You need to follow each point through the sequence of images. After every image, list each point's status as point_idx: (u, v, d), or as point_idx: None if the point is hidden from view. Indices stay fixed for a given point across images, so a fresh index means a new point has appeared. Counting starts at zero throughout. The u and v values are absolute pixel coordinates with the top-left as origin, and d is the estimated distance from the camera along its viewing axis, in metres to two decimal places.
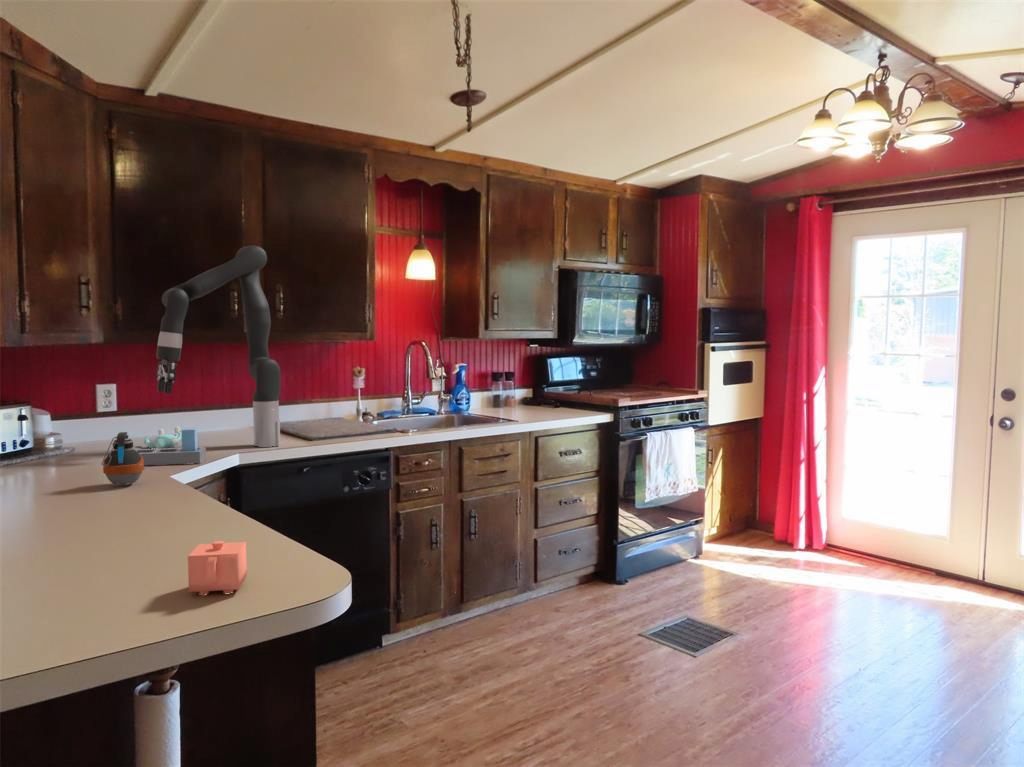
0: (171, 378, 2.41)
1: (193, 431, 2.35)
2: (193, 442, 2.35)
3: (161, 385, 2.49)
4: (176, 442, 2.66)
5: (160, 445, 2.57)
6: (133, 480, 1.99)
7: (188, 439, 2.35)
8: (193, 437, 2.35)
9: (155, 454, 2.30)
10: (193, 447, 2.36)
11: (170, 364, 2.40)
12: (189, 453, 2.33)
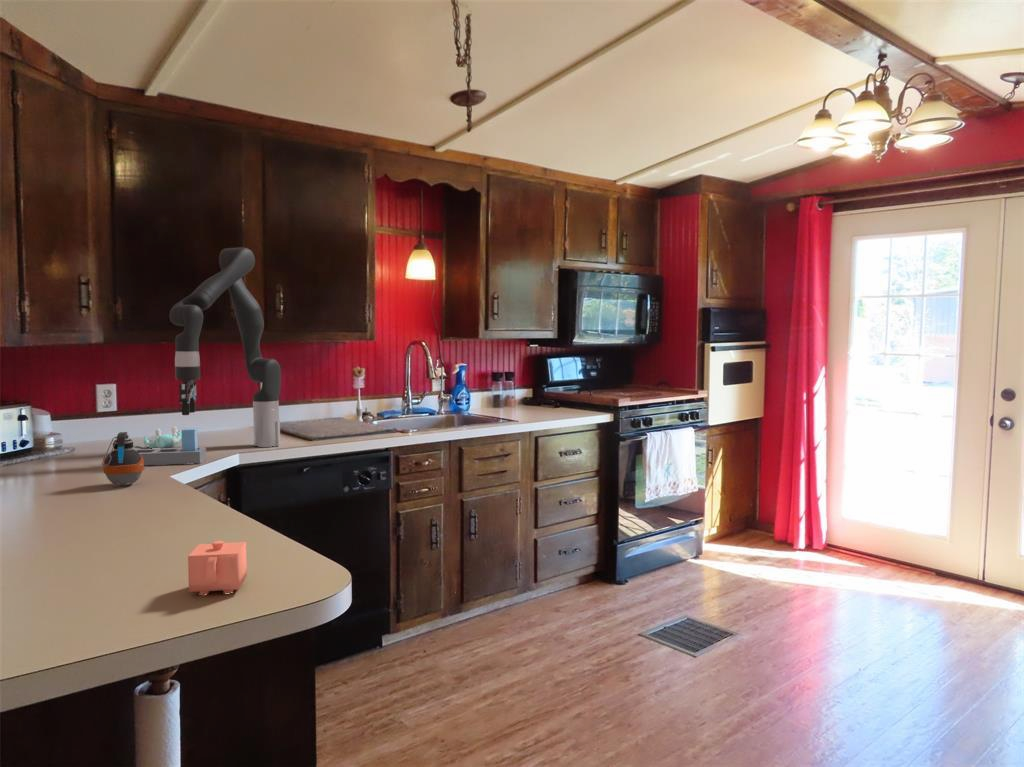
0: (183, 399, 2.29)
1: (193, 431, 2.35)
2: (193, 442, 2.35)
3: (190, 406, 2.40)
4: (176, 442, 2.66)
5: (162, 445, 2.57)
6: (133, 480, 1.99)
7: (188, 439, 2.35)
8: (193, 437, 2.35)
9: (155, 454, 2.30)
10: (193, 447, 2.36)
11: (180, 385, 2.29)
12: (189, 453, 2.33)
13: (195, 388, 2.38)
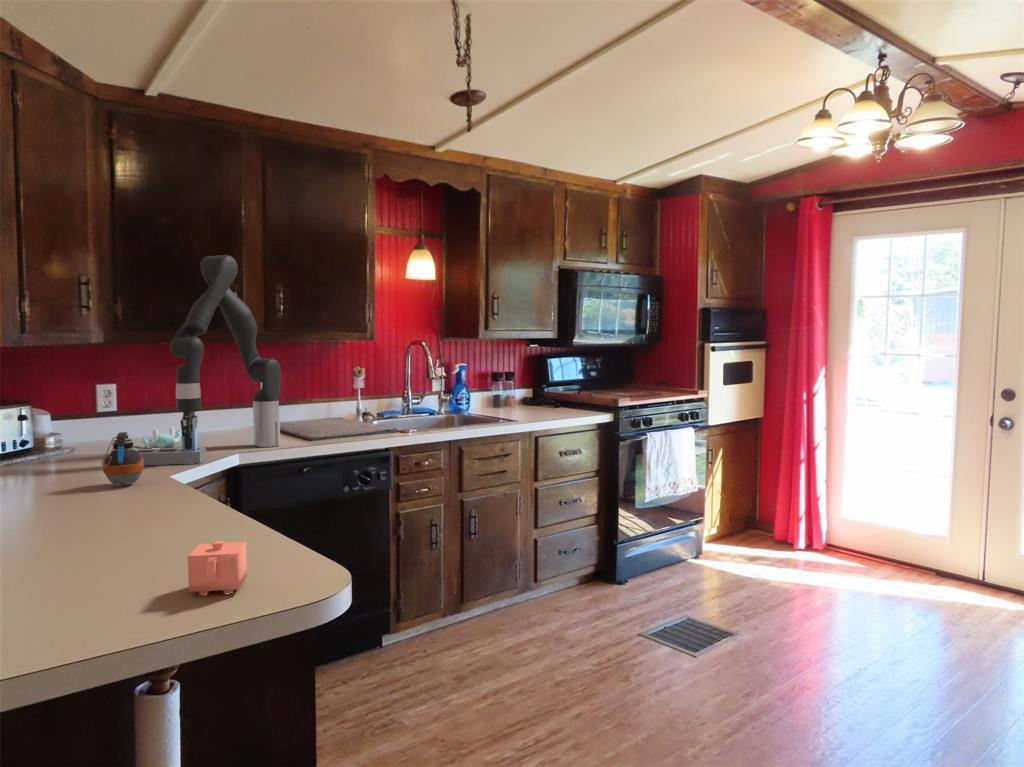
0: (185, 434, 2.32)
1: (193, 431, 2.35)
2: (193, 442, 2.35)
3: None
4: (176, 442, 2.66)
5: (163, 445, 2.58)
6: (133, 480, 1.99)
7: None
8: (193, 437, 2.35)
9: (155, 454, 2.30)
10: (193, 447, 2.36)
11: (181, 422, 2.30)
12: (189, 453, 2.33)
13: (196, 419, 2.38)
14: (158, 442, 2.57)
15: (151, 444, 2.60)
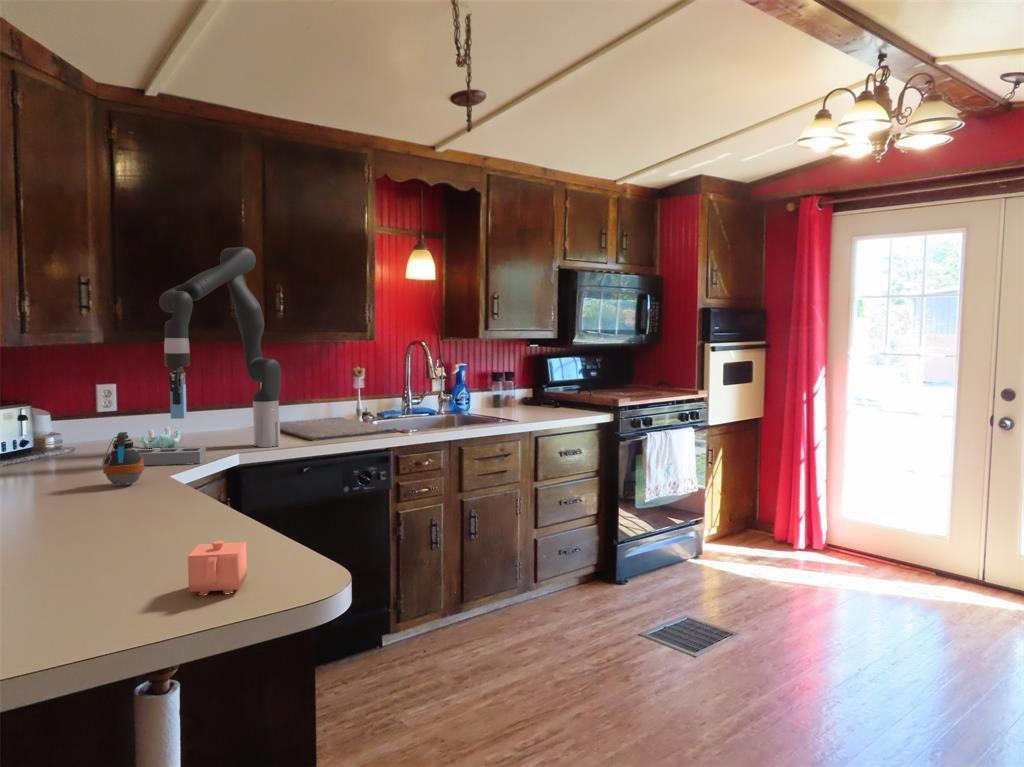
0: (174, 389, 2.30)
1: (182, 386, 2.33)
2: (182, 398, 2.33)
3: None
4: (177, 441, 2.67)
5: (165, 445, 2.58)
6: (133, 480, 1.99)
7: None
8: (182, 392, 2.33)
9: (155, 454, 2.30)
10: (181, 403, 2.33)
11: (170, 376, 2.28)
12: (189, 453, 2.33)
13: (184, 375, 2.36)
14: (161, 442, 2.58)
15: (152, 444, 2.61)
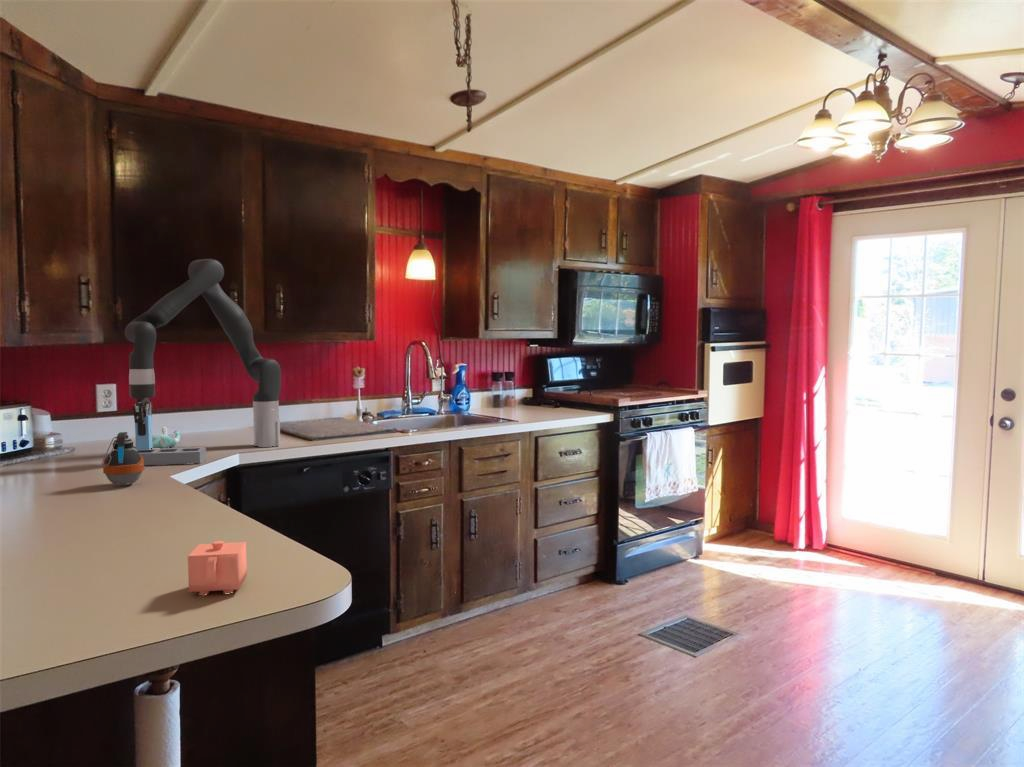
0: (138, 420, 2.29)
1: (147, 417, 2.32)
2: (147, 428, 2.32)
3: None
4: (177, 441, 2.68)
5: (167, 445, 2.59)
6: (133, 480, 1.99)
7: None
8: (147, 423, 2.32)
9: (155, 454, 2.30)
10: (147, 434, 2.32)
11: (134, 408, 2.27)
12: (189, 453, 2.33)
13: (150, 406, 2.35)
14: (162, 442, 2.58)
15: (153, 444, 2.61)
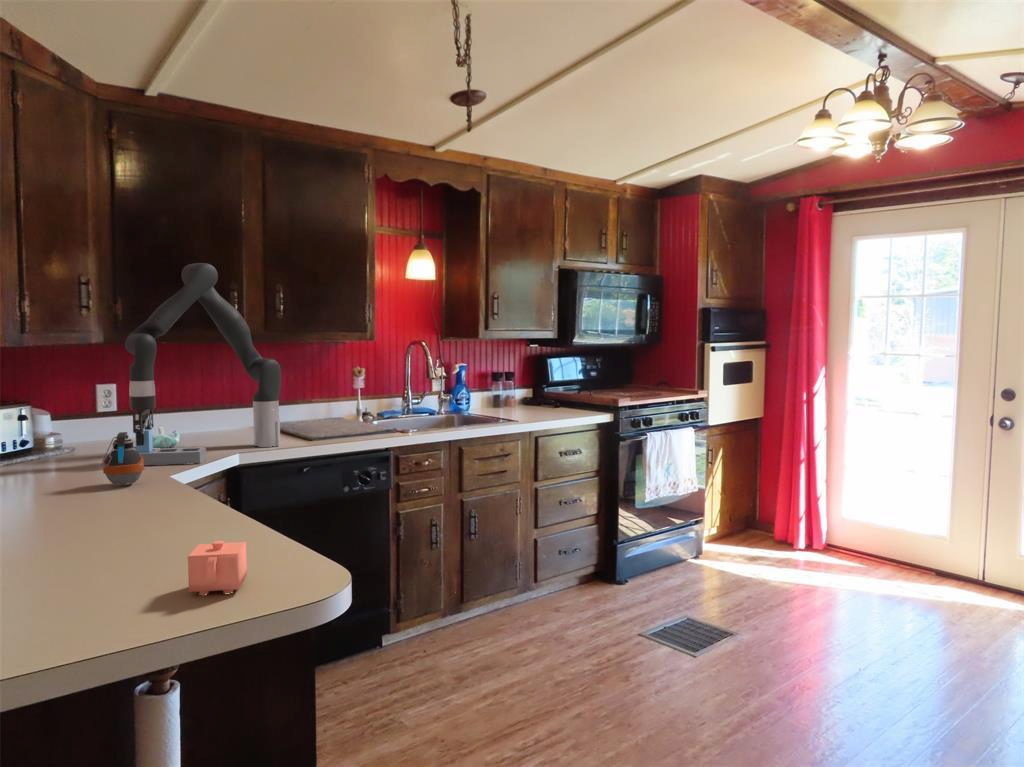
0: (137, 430, 2.27)
1: (147, 432, 2.32)
2: (147, 443, 2.32)
3: None
4: (177, 441, 2.68)
5: (169, 444, 2.59)
6: (133, 480, 1.99)
7: None
8: (147, 438, 2.32)
9: (155, 454, 2.30)
10: (147, 448, 2.33)
11: (134, 416, 2.27)
12: (189, 453, 2.33)
13: (151, 417, 2.35)
14: (164, 442, 2.59)
15: (154, 444, 2.61)
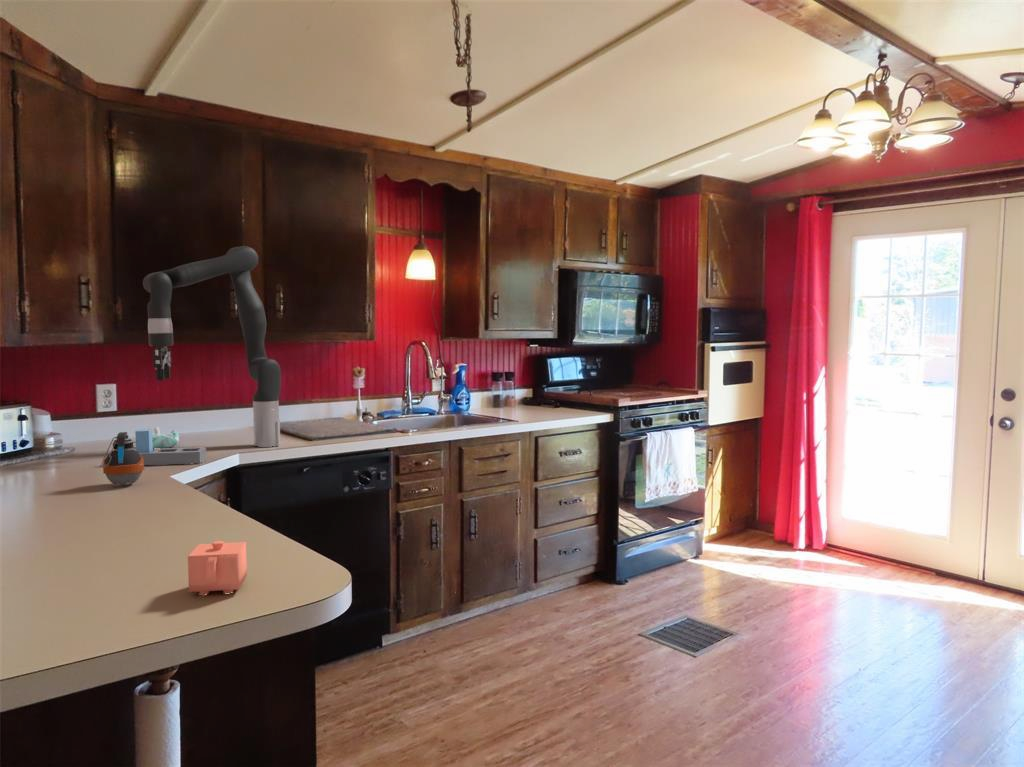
0: (157, 365, 2.36)
1: (147, 432, 2.32)
2: (147, 443, 2.32)
3: (165, 372, 2.47)
4: (177, 441, 2.69)
5: (171, 444, 2.60)
6: (133, 480, 1.99)
7: (142, 441, 2.32)
8: (147, 438, 2.32)
9: (155, 454, 2.30)
10: (147, 448, 2.33)
11: (154, 351, 2.35)
12: (189, 453, 2.33)
13: (169, 354, 2.44)
14: (166, 441, 2.59)
15: (155, 444, 2.61)
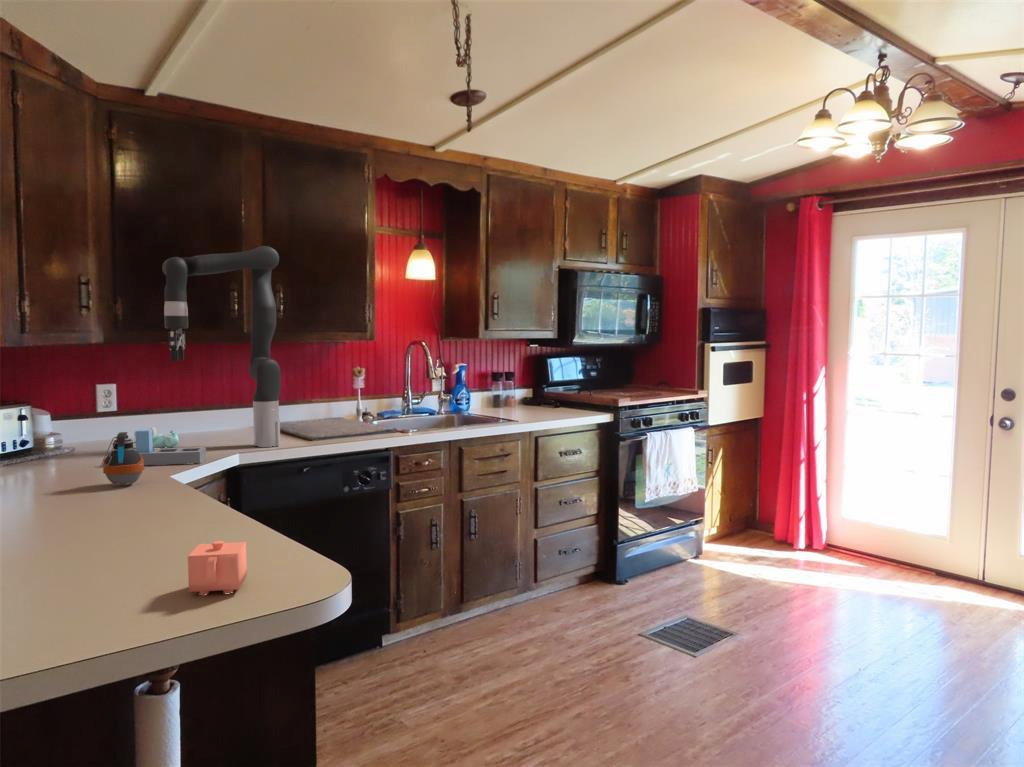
0: (171, 346, 2.44)
1: (147, 432, 2.32)
2: (147, 443, 2.32)
3: (179, 354, 2.55)
4: (177, 441, 2.69)
5: (172, 444, 2.60)
6: (133, 480, 1.99)
7: (142, 441, 2.32)
8: (147, 438, 2.32)
9: (155, 454, 2.30)
10: (147, 448, 2.33)
11: (169, 332, 2.44)
12: (189, 453, 2.33)
13: (183, 337, 2.53)
14: (168, 441, 2.60)
15: (156, 444, 2.61)
